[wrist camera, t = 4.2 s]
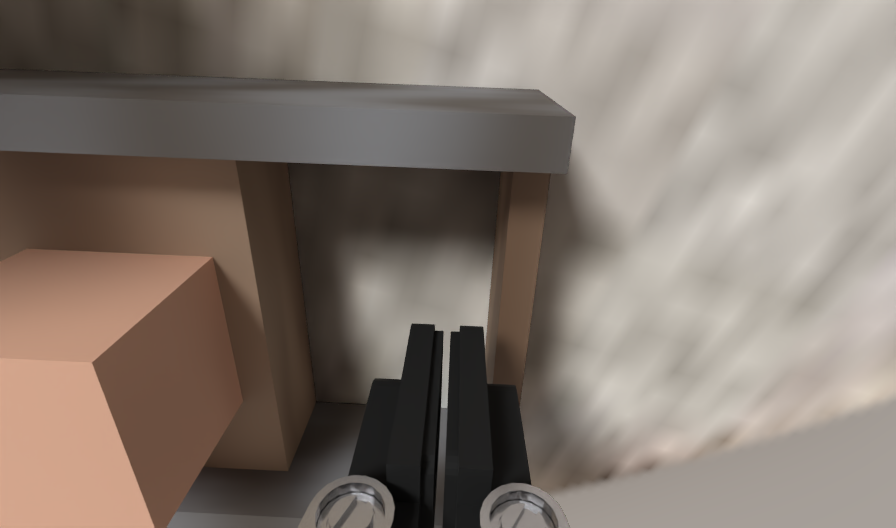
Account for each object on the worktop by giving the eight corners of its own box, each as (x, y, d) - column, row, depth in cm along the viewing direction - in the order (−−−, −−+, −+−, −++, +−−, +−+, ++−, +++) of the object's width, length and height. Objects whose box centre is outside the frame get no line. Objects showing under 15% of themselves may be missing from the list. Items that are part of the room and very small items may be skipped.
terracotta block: (212, 256, 11) (91, 363, 7) (242, 401, 13) (158, 539, 9) (26, 248, 11) (-181, 349, 8) (85, 393, 13) (-58, 528, 10)
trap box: (538, 89, 12) (575, 116, 8) (499, 431, 17) (510, 551, 13) (-511, 49, 12) (-984, 55, 8) (-235, 395, 18) (-441, 501, 14)
